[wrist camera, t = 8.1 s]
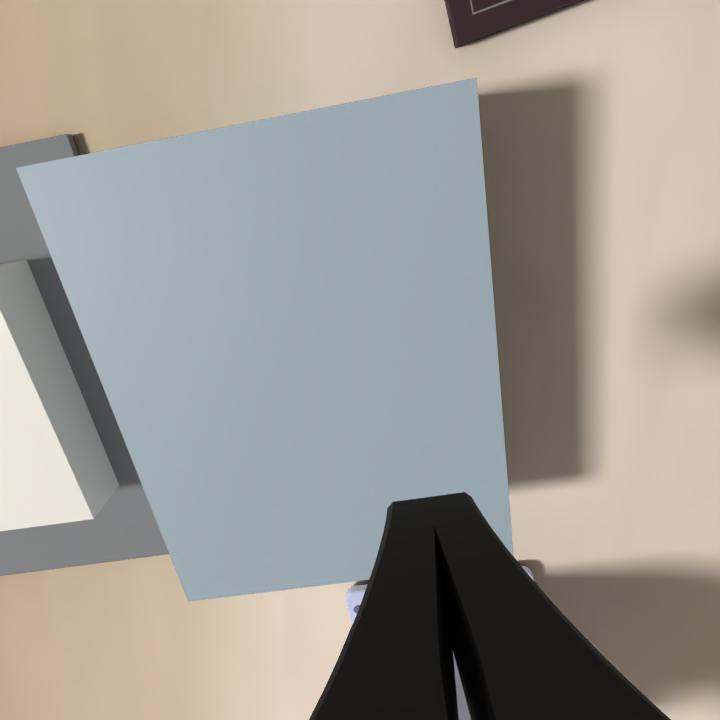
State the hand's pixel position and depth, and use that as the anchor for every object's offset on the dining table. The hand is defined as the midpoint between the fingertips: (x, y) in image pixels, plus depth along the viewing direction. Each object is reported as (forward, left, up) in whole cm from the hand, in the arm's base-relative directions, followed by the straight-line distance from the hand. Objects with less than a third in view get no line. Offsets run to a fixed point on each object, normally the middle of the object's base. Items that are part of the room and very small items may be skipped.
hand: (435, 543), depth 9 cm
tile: (+1, +15, -8) cm, 17 cm away
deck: (+1, +3, -10) cm, 10 cm away
